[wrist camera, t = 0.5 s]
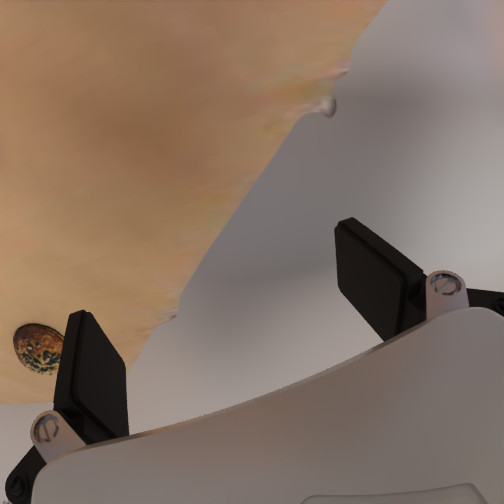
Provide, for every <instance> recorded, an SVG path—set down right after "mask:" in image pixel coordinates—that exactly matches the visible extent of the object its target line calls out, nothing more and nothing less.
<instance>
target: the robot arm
mask: <svg viewBox="0 0 504 504" xmlns="http://www.w3.org/2000/svg"><path fill="white" fill-rule="evenodd" d="M334 232H335V246H336V260H337V279H338V287H339V289H340V291H341V293H343V295H344V296H345V297H346V298H347V299H348V300H349V302H350V303H351V304H352V305H353V306H354V307H355V309H356V310H357V311H358V312H359V313H360V314H361V315H362V317H363V318H364V319H365V320H366V321H367V322H368V324H369V325H370V326H371V327H372V328H373V329H374V331H375V332H376V333H377V334H378V335H379V336H380V337H381V338H382V340H383V341H384V342H383V343H381V344H379V345H377V346H375V347H373V348H371V349H369V350H367V351H365V352H363V353H361V354H358V355H356V356H354V357H352V358H350V359H348V360H346V361H344V362H342V363H339V364H337V365H335V366H333V367H331V368H329V369H326V370H324V371H322V372H320V373H317V374H315V375H313V376H310V377H308V378H305V379H303V380H300V381H298V382H296V383H293V384H291V385H288V386H286V387H283V388H281V389H278V390H276V391H273V392H270V393H268V394H265V395H262V396H260V397H257V398H254V399H251V400H249V401H246V402H243V403H240V404H237V405H234V406H231V407H228V408H225V409H222V410H219V411H216V412H213V413H210V414H206V415H203V416H200V417H197V418H193V419H190V420H186V421H183V422H179V423H176V424H173V425H168V426H165V427H161V428H157V429H153V430H149V431H145V432H141V433H137V434H133V435H129V425H128V411H127V394H126V393H127V392H126V367H125V364H124V361H123V359H122V358H121V357H120V355H119V354H118V352H117V351H116V349H115V348H114V347H113V345H112V344H111V342H110V341H109V339H108V338H107V336H106V335H105V333H104V332H103V330H102V329H101V327H100V326H99V324H98V323H97V321H96V320H95V318H94V316H93V315H92V313H91V312H86V311H85V310H80V311H77V312H74V313H71V314H70V315H69V318H68V323H67V327H66V332H65V336H64V341H63V346H62V351H61V356H60V362H59V368H58V374H57V380H56V386H55V394H54V401H53V403H54V408H53V410H49V411H45V412H43V413H41V414H40V415H39V416H37V418H36V419H35V420H34V422H33V424H32V426H31V431H30V436H31V440H32V442H33V444H34V445H33V447H32V448H31V449H30V450H29V451H28V453H27V454H26V455H25V456H24V457H23V459H22V460H21V461H20V462H19V463H18V465H17V466H16V467H15V468H14V470H13V471H12V472H11V473H10V475H9V476H8V478H7V480H6V484H5V491H6V496H7V498H8V502H6V501H4V502H3V504H504V292H495V291H487V290H478V289H468V288H466V285H465V282H464V280H463V279H462V278H461V277H460V276H459V275H457V274H456V273H453V272H450V271H445V270H442V271H436V272H433V273H431V274H430V275H429V276H426V275H425V274H424V273H423V270H422V269H421V268H420V267H418V266H417V265H416V264H414V263H413V262H412V261H411V260H409V259H408V258H407V257H406V256H404V255H403V254H402V253H401V252H399V251H398V250H397V249H395V248H394V247H393V246H391V245H390V244H389V243H387V242H386V241H385V240H383V239H382V238H381V237H379V236H378V235H377V234H375V233H374V232H372V231H371V230H370V229H369V228H367V227H366V226H364V225H363V224H362V223H360V222H359V221H358V220H356V219H355V218H353V217H351V218H348V219H345V220H342V221H340V222H338V225H337V227H335V230H334Z"/></svg>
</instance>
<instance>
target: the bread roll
mask: <svg viewBox="0 0 504 504" xmlns="http://www.w3.org/2000/svg"><path fill="white" fill-rule="evenodd" d="M63 341H64V338H63V337H62V336H61V335H60V334H59V333H58V332H56V331H55V330H53V329H51V328H49V327H46V326H42V325H35V324H31V325H30V324H29V325H26V326H23V327H20V328H18V330H17V332H16V333H15V335H14V337H13V342H14V349H15V352H16V354H17V356H18V359H19V360H20V362H21V363H22V364H23V365H24V366H25V367H26V368H28V369H29V370H30V371H32V372H35V373H36V374H41V375H45V376H46V375H49V376H51V375H52V374H56V373H58V368H59V362H60V356H61V351H62V346H63Z"/></svg>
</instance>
